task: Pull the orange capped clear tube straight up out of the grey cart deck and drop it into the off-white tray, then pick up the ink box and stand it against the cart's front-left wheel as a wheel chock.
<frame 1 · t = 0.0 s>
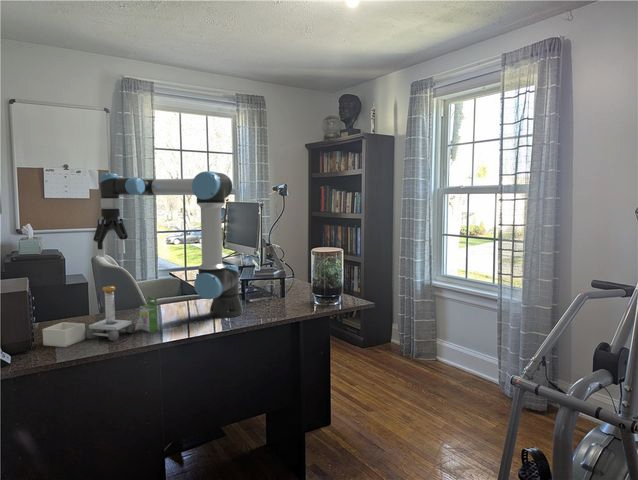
hand: (112, 255, 199), 28 cm above the table, fingers open, 13 cm apart
orange capped clear tube: (110, 311, 170), in the cart
cart: (111, 335, 171), on the table
ink box: (149, 330, 178), on the table
tray: (64, 342, 163), on the table
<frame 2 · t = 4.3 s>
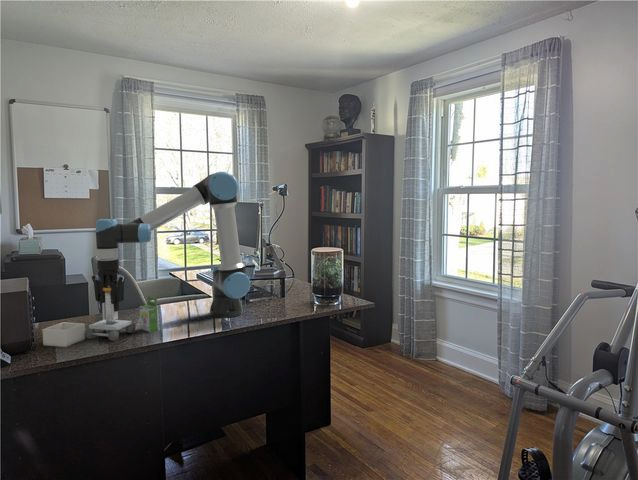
hand: (110, 319, 170), 7 cm above the table, fingers closed on orange capped clear tube, 3 cm apart
orange capped clear tube: (110, 311, 170), in the cart, touching gripper
everything else where it was.
when the fingers open (9 cm above the table, at t = 9.1 s): orange capped clear tube stays where it is, resting on tray.
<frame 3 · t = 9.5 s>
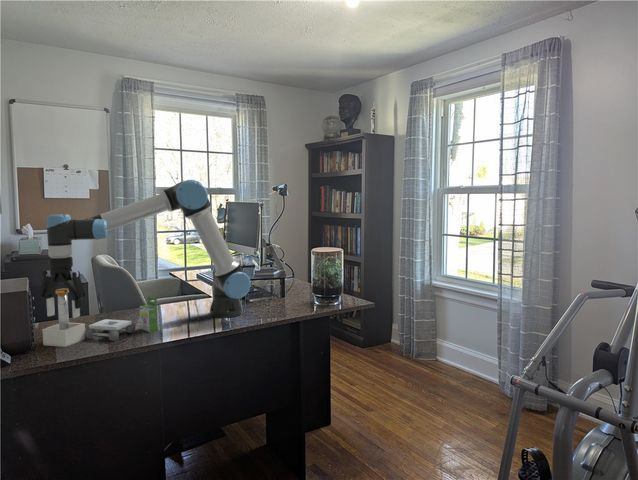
hand: (63, 316, 162), 10 cm above the table, fingers open, 10 cm apart
orange capped clear tube: (63, 315, 162), in the tray, point 10 cm above the table
everything else where it was.
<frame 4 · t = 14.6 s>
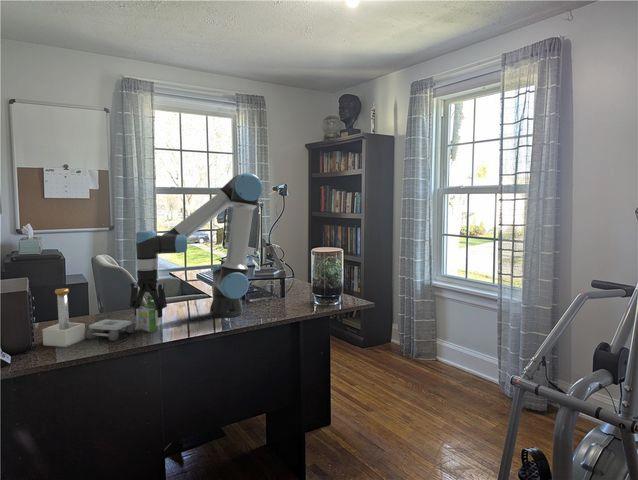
hand: (148, 324, 178), 2 cm above the table, fingers closed on ink box, 8 cm apart
ink box: (149, 330, 178), on the table, touching gripper
everything else where it was.
when the fingers open (4 cm above the table, at t = 20.9 s): ink box drops 1 cm, on the table.
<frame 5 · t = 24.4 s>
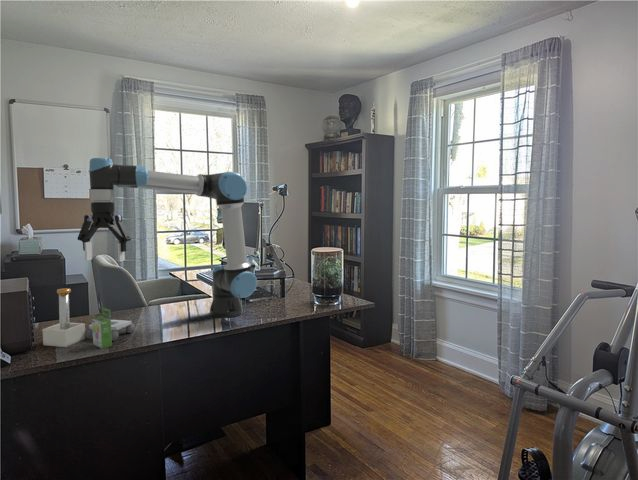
hand: (105, 260, 159), 31 cm above the table, fingers open, 13 cm apart
ink box: (102, 346, 159), on the table
everything else where it was.
at the end: orange capped clear tube inside the target area on the tray (0.0 cm from its centre), point 10.2 cm above the tray's base; ink box inside the target area (0.7 cm from its centre), on the table; ink box tilted 0° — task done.
